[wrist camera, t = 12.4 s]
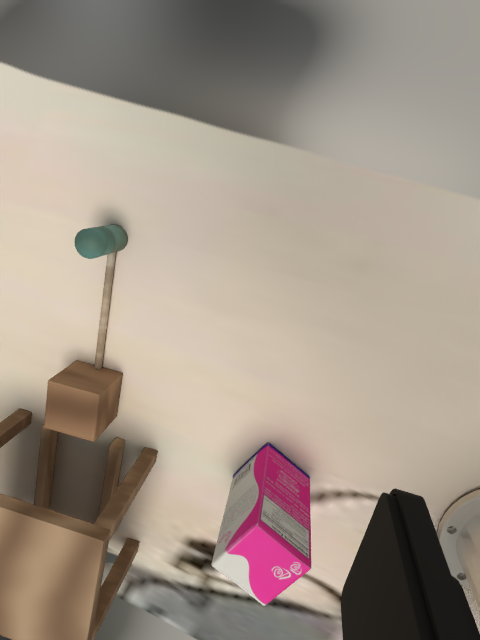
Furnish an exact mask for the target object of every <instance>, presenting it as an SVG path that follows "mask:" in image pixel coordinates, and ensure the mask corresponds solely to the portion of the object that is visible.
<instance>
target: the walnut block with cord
mask: <svg viewBox="0 0 480 640" xmlns="http://www.w3.org/2000/svg"><path fill="white" fill-rule="evenodd" d="M127 241H128V237H127V233H126V231H125V230H124V229H123V228H122V227H121V226H119V225H108V226H101V227H94V228H88V229H83V230H81V231H79V232H78V233H77V235H76V237H75V247H76V249H77V251H78V253H79V254H80V255H81V256H83V257H85V258H88V259H92V258H96V257H100V256H103V255H106V254H108V256H107V265H106V273H105V282H104V290H103V299H102V307H101V316H100V324H99V333H98V341H97V350H96V358H95V365H91V364H88V363H84V362H80V361H75V362H74V363H72V364H71V365H70V366H68V367H67V368H65V369H64V370H62V371H61V372H60V373H58V374H57V375H55V376H54V377H52V378H51V379H50V380H48V389H47V401H46V413H45V425H44V428H48V429H51V430H55V431H58V432H62V433H65V434H68V435H72V436H75V437H79V438H82V439H86V440H89V441H92V442H94V441H95V440H96V439H97V438H98V437H99V436H100V434H101V433H102V432H103V431H104V430H105V429H106V428H107V427H108V425H109V424H110V423H111V422H112V421H113V420H114V419H115V418H116V416H117V412H118V404H119V397H120V390H121V383H122V376H123V373H121V372H117V371H113V370H110V369H106V368H102V362H103V353H104V345H105V337H106V329H107V321H108V313H109V305H110V297H111V289H112V280H113V272H114V264H115V256H116V252H117V251H120V250H122V249H124V248H125V246H126V245H127Z"/></svg>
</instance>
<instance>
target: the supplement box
mask: <svg viewBox="0 0 480 640" xmlns="http://www.w3.org/2000/svg"><path fill="white" fill-rule="evenodd" d="M212 566H213V567H214V568H216V569H217V570H218V571H220V572H221V573H222V574H224V575H225V576H226V577H228V578H229V579H230V580H232V581H233V582H234V583H236V584H237V585H238V586H239V587H241V588H242V589H243V590H244V591H246V592H247V593H248V594H249V595H251V596H252V597H253V598H255V599H256V600H257V601H258V602H260V603H261V604H262V605H264V606H265V605H266V604H267V603H269V602H270V601H271V600H272V599H274V598H275V597H276V596H277V595H279V594H280V593H281V592H282V591H284V590H285V589H286V588H287V587H289V586H290V585H291V584H292V583H294V582H295V581H296V580H297V579H299V578H300V577H301V576H303V575H304V574H305V573H306V572H308V571H309V570H310V569H311V526H310V477H309V476H308V475H307V474H305V473H304V472H303V471H302V470H301V469H299V468H298V467H297V466H296V465H295V464H293V463H292V462H291V461H290V460H289V459H287V458H286V457H285V456H284V455H283V454H281V453H280V452H279V451H278V450H277V449H275V448H274V447H273V446H272V445H271V444H270V443H267V444H265V445H264V446H263V447H262V448H261V449H260V450H259V451H258V452H257V453H256V454H255V455H254V456H253V457H252V458H251V459H250V460H249V461H247V462H246V463H245V464H244V465H243V466H242V467H241V468H240V469H239V470H238V471H237V472H236V473H235V474H234V475H233V480H232V484H231V488H230V492H229V496H228V500H227V504H226V508H225V512H224V516H223V520H222V524H221V528H220V532H219V537H218V541H217V544H216V549H215V553H214V557H213V561H212Z"/></svg>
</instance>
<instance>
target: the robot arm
mask: <svg viewBox="0 0 480 640" xmlns="http://www.w3.org/2000/svg"><path fill="white" fill-rule="evenodd" d="M460 584H461V585H462V586H463V587H465V588H466V589H468V590H470V591H471V592H472V594H473V597H474V599H475V602H476V604H477V607H478V609H479V612H480V489H479V490H476V491H473V492H471V493H469V494H467V495H465V496H464V497H462V498H461V499H459V500H458V501H457V502H455V503H454V504H453V505H452V506H451V507H450V508H449V509H448V511H447V512H446V513H445V514H444V516H443V518H442V520H441V522H440V524H439V528H438V531H437V534H436V531H435V528H434V525H433V522H432V520H431V517H430V514H429V511H428V509H427V506H426V503H425V500H424V499H423V497H421V496H418V495H415V494H412V493H408V492H405V491H402V490H398V489H393V490H392V491H391V492H390V494H387V493H382V494H381V496H380V498H379V500H378V503H377V505H376V508H375V510H374V513H373V515H372V518H371V520H370V523H369V525H368V528H367V530H366V532H365V535H364V537H363V540H362V542H361V545H360V547H359V550H358V552H357V555H356V557H355V560H354V562H353V565H352V567H351V570H350V572H349V574H348V577H347V579H346V582H345V584H344V587H343V591H342V597H341V614H342V630H343V640H480V634H479V631H478V628H477V626H476V623H475V620H474V618H473V615H472V612H471V610H470V607H469V604H468V602H467V599H466V596H465V594H464V591H463V588H462V587H461V585H460Z"/></svg>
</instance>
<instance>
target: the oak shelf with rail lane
mask: <svg viewBox="0 0 480 640" xmlns="http://www.w3.org/2000/svg"><path fill="white" fill-rule="evenodd" d="M31 415H32V412H30V411H26V410H23V409H19V410H17V411H16V412H14V413H13V414H12V415H10V416H9V417H8V418H6V419H5V420H3V421H2V422H1V423H0V448H1V447H2V446H3V445H4V444H6V443H7V442H8V441H9V440H11V439H12V438H13V437H14V436H16V435H17V434H18V433H19V432H20V431H22V430H23V429H24V428H25V427H27V426H28V425H29V424H30V423H31ZM44 425H45V423H44V424H43V425H42V432H41V442H40V452H39V461H38V471H37V481H36V491H35V500H34V505H33V504H30V503H27V502H24V501H21V500H18V499H15V498H12V497H9V496H6V495H3V494H0V635H2V636H4V637H7V638H10V639H13V640H94V638H95V636H96V634H97V632H98V630H99V628H100V626H101V624H102V622H103V620H104V618H105V616H106V614H107V612H108V610H109V608H110V606H111V604H112V602H113V600H114V598H115V596H116V594H117V592H118V590H119V588H120V586H121V584H122V582H123V580H124V578H125V576H126V574H127V572H128V570H129V567H130V565H131V563H132V561H133V559H134V557H135V555H136V553H137V551H138V547H139V542H138V541H135V540H132V539H129V538H128V539H127V541H126V542H125V544H124V546H123V548H122V550H121V552H120V554H119V555H118V557H117V559H116V561H115V563H114V565H113V566H112V568H111V570H110V572H109V574H108V576H107V577H106V579H105V581H104V583H103V585H102V587H101V583H102V577H103V571H104V565H105V559H106V554H107V548H108V542H109V540H110V538H111V536H112V535H113V533H114V531H115V530H116V528H117V526H118V524H119V523H120V521H121V519H122V518H123V516H124V514H125V513H126V511H127V509H128V508H129V506H130V504H131V503H132V501H133V499H134V498H135V496H136V494H137V492H138V491H139V489H140V487H141V486H142V484H143V482H144V481H145V479H146V477H147V476H148V474H149V472H150V471H151V469H152V467H153V465H154V464H155V462H156V457H157V452H158V451H156V450H153V449H150V448H147V447H145V448H144V450H143V451H142V453H141V454H140V456H139V457H138V459H137V460H136V462H135V463H134V465H133V466H132V468H131V469H130V471H129V472H128V474H127V475H126V477H125V478H124V480H123V481H122V483H121V484H120V486H119V487H118V489H117V485H118V480H119V474H120V468H121V462H122V457H123V451H124V445H125V440H123V439H120V438H117V437H116V439H115V440H114V441H113V442H112V444H111V445H110V447H109V453H108V460H107V466H106V472H105V478H104V484H103V491H102V497H101V503H100V509H99V516H98V518H97V520H96V521H95V523H94V524H91V523H88V522H85V521H82V520H79V519H76V518H73V517H70V516H67V515H64V514H61V513H58V512H55V511H52V510H49V508H50V499H51V490H52V482H53V473H54V465H55V456H56V447H57V439H58V431H55V430H51V429H48V428H44ZM100 588H101V589H100Z"/></svg>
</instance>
